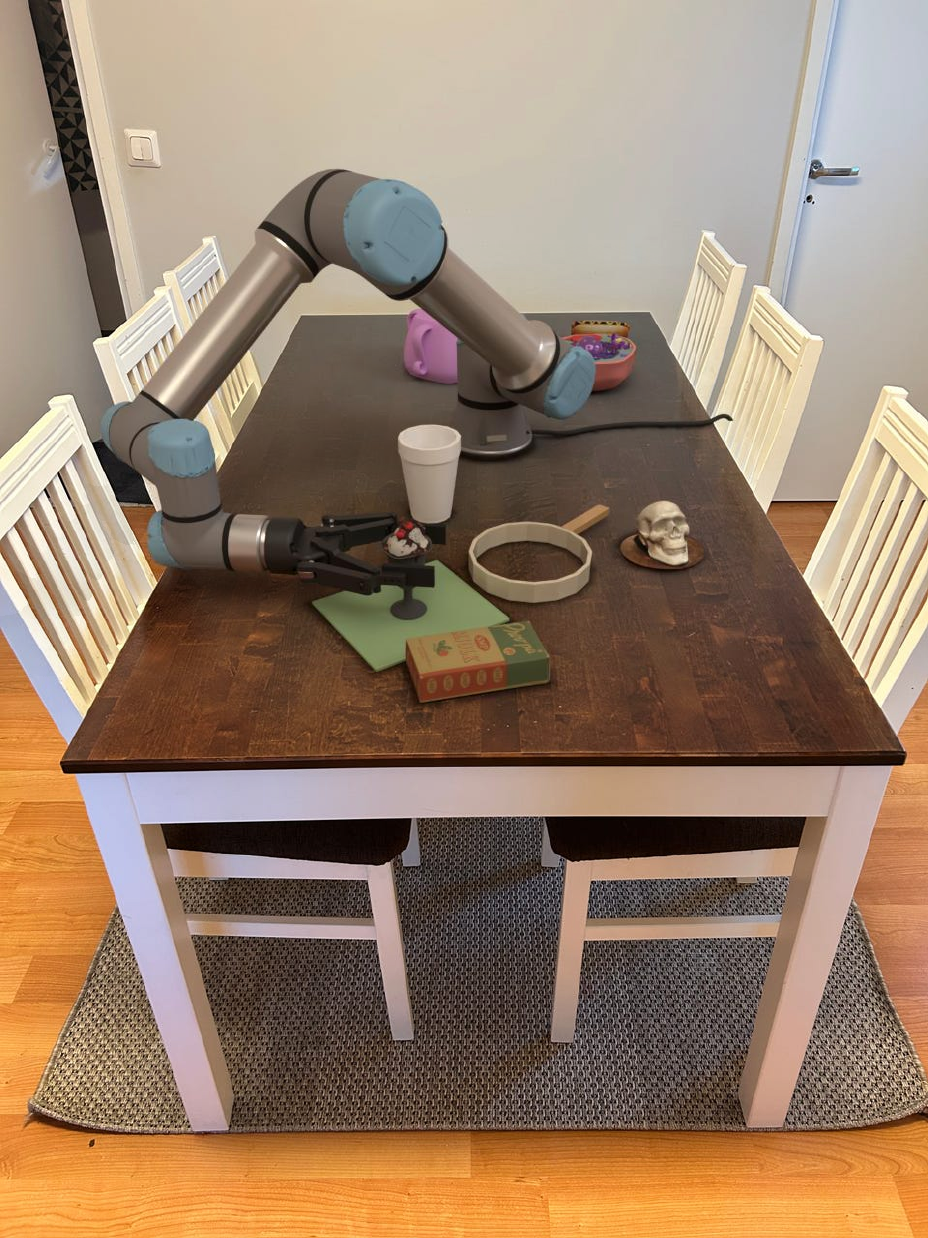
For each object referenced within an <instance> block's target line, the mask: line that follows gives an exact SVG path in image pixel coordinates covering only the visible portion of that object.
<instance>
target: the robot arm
mask: <svg viewBox="0 0 928 1238" xmlns="http://www.w3.org/2000/svg"><path fill="white" fill-rule="evenodd" d="M442 223H443V219H442V216H441V213H440V211H439V209H438V207H437V206H436V204H435V203H434V202H433V200H432V199H431V198H430V197H429V196H428V195H427V194H426V193H424V192H423V191H422V190H420V189H418V188H417V187H414V186H413V185H411V184H409V183H407V182H404V181H402V180H398V179H391V178H379V177H374V176H372V175H371V176H370V175H366V174H362V173H358V172H355V171H352V170H349V169H348V170H347V169H343V168H329V169H323V170H320V171H317V172H316V173H313V174H312V175H309V176H308V177H306V178H305V179H303V180H302V181H300V182H299V183H298V184H297V185H295V186H294V187H293V188H292V189H291V190H290V191H288V192H287V193H286V194H285V195H284V196H283V197H282V198H281V199H280V201H279V202H278V203H277V204H276V205H275V206H274V207H273V208H272V209H271V211H270V212H269V213H268V214H267V215H266V217H265V218H264V219H263V220H262V222H261V223H260V224H259V226H257V228H256V229H255V231H254V241H255V244H254V245H253V247H252V248H251V249H250V250H249V252H248V253H247V254H246V256H245V257H244V258H243V260H242V261H241V262H240V263H239V264H238V265H237V267H236V269H235V270H234V271H233V272H232V274H231V275H230V276H229V277H228V279H227V280H226V281H225V282H224V284H223V285H222V286H221V288H219V291H218V292H217V293H216V294H215V296H213V298H212V299H211V300H210V301H209V303H208V304H207V306H206V307H205V308H204V309H203V310H202V312H201V313H200V315H199V316H198V317H197V319H196V320H195V321H193V324H192V325H191V326H190V328H189V329H188V330H187V331H186V332H185V334H184V335H183V336H182V337H181V339H180V341H179V342H178V343H177V344H176V345H175V346H174V347H173V349H172V350H171V352H170V353H169V355H168V356H167V357H166V359H164V361H163V362H162V363H161V365H160V366H159V367H158V369H157V370H156V371H155V373H154V374H152V376H151V377H150V378H149V380H148V382H147V383H145V385H144V386H143V388H142V389H141V390H140V391H139V393H138V394H137V395H136V397H135V398H134V399H133V400H132V401H125V400H124V401H121V402H118V403H116V404H115V405H112V406H111V407H109V408H108V409H107V410H106V412H105V413H104V415H103V416H102V419H101V422H100V435H101V439H102V441H103V442H104V444H105V446H106V447H107V449H109V450H110V451H111V452H112V453H113V454H114V455H115V456H116V458H117V459H118V460H119V461H121V462H122V463H124V464H127V465H128V466H129V467H131V468H132V469H134V470H135V471H136V472H137V473H139V474H140V476H142V477H143V478H145V479H146V480H147V481H148V482H150V483H151V484H152V485H154V486H155V488H156V491H157V495H158V500H159V504H160V510H157V511H155V512H154V513H153V514H152V515H151V517H150V520H149V521H148V525H147V531H146V534H147V542H146V545H147V550H148V553H149V555H150V557H151V559H152V560H153V561H154V562H155V563H156V564H158V565H160V566H163V567H170V568H178V569H182V570H186V571H190V570H209V571H210V570H212V571H229V572H242V573H243V572H245V573H252V574H255V573H259V574H266V573H268V572H269V573H271V574H272V575H281V576H282V575H285V576H297V575H298V582H299V583H300V584H303V585H305V584H309V585H311V584H312V585H314V584H315V585H316V584H317V585H319V586H323V587H327V588H333V589H337V590H340V591H349V592H353V593H357V594H362V595H366V596H369V595H372V594H373V593H379V592H381V585H389V586H393V585H394V586H414V587H430V588H434V587H435V566H427V565H411V564H394V563H388V562H382V563H381V565H380V567H379V566H377V565H375V564H373V563H370V562H367V561H365V560H363V559H360V558H357V557H355V556H352V555H351V554H347V553H346V552H349V551H351V549H352V548H354V547H359V546H364V545H368V544H374V543H378V542H382V541H383V539H384V538H386V537H387V536H388V535H390V534H392V533H394V532H395V530H396V529H397V528H398V526H399V525H400V522H401V521H399V520H398V514H397V513H395V511H382V512H380V511H379V512H369V513H368V512H367V513H356V514H342V515H341V514H340V515H337V514H323V515H321V522H322V523H321V524H320V525H316V526H307V525H305V523H304V521H303V520H302V519H301V518H300V517H297V516H280V515H274V516H273V517H272V518H271V517H270V516H269V515H266V514H243V513H242V514H241V513H230V512H224V510H223V502H222V498H221V492H220V486H219V478H218V471H217V464H216V452H215V449H214V446H213V443H212V439H211V434H210V431H209V429H208V428H207V426H206V425H205V424H204V423H202V422H200V421H197V420H196V418H197V417H198V416H199V414H200V413H201V412H202V410H203V409H204V408H205V406H206V405H207V404H208V403H209V402H210V400H211V399H212V397H214V395H215V394H216V393H217V391H218V390H219V389H220V387H221V386H222V385H223V384H224V383H225V382H226V380H227V378H228V377H229V376H230V375H231V374H232V372H233V371H234V370H235V368H236V367H237V366H238V364H239V363H240V362H241V361H242V359H243V358H244V357H245V355H246V354H247V353H248V351H249V350H250V349H251V348H252V347H253V345H254V344H255V343H256V341H257V340H258V339H259V338H260V336H261V335H262V333H263V332H264V331H265V330H266V328H267V327H268V326H269V325H270V323H271V322H272V321H273V320H274V318H275V317H276V316H277V315H278V314H279V312H280V311H281V310H282V308H283V306H285V304H286V303H287V302H288V300H289V299H290V298H291V296H292V295H293V294H294V293H295V292H296V290H297V289H298V288H299V287H300V285H301V284H311V283H312V282H313V281H314V280H315V278H316V277H317V276H318V275H319V273H320V272H321V271H322V270H324V269H325V268H326V267H328V266H331V265H335V266H338V267H341V268H344V269H346V270H349V271H352V272H354V273H356V274H357V275H359V276H361V277H362V278H363V279H364V280H366V281H367V282H368V283H369V284H371V285H372V286H374V288H376V289H377V290H379V291H380V292H381V293H382V294H384V295H385V296H386V297H387V298H389V299H391V300H393V301H397V302H403V301H408V300H410V302H412V303H413V304H415V305H416V306H417V307H418V308H419V309H422V310H423V311H425V312H426V313H427V314H428V315H430V316H431V317H432V318H433V319H435V320H436V321H437V322H438V323H440V324H441V325H442V326H443V327H444V328H446V329H447V330H448V331H449V332H451V333H452V334H453V335H454V336H456V337H457V341H456V345H457V383H456V385H457V387H456V388H457V389H456V390H457V401H456V402H457V403H456V406H455V409H454V412H453V416H452V419H451V423H450V426H449V427H450V428H452V429H454V430H457V432H458V433H459V434H460V435H461V452H460V455H459V456H462V457H465V458H469V459H473V460H479V461H502V460H510V459H513V458H516V457H519V456H521V455H523V454H526V453H527V452H528V451H529V450H530V449H531V448H532V444H533V442H532V441H533V435H536V436H537V435H540V436H541V435H542V436H555V437H563V436H574V435H578V434H584V433H588V432H592V431H600V430H608V429H609V430H610V429H616V428H629V427H633V428H634V427H699V426H706V425H711V424H713V423H714V424H715V423H716V422H718V421H720V420H722V419H725V420H727V421H728V422H733V421H734V419H733V417H732V416H731V415H729V414H727V413H719V414H717V415H716V416H713V417H712V418H709V419H705V420H703V419H702V420H687V421H686V420H685V421H683V420H682V421H680V420H679V421H625V422H623V421H622V422H613V423H605V424H596V425H590V426H584V427H581V428H575V429H569V430H552V429H551V430H550V429H531V425H530V422H529V418H528V415H527V411H526V408H527V409H529V410H532V411H534V412H537V413H539V414H542V415H544V416H545V417H546V418H548V419H550V418H551V419H555V420H561V421H563V420H567V419H569V418H571V417H572V416H574V415H576V414H577V413H578V412H579V411H580V410H581V409H582V408H583V407H584V405H585V404H586V402H587V401H588V399H589V397H590V395H591V393H592V392H593V391H592V388H593V385H594V380H595V373H596V367H595V361H594V358H593V356H592V355H591V354H590V353H589V352H588V351H587V350H584V349H583V348H582V347H580V346H576V347H575V346H573V345H571V344H569V343H567V342H566V341H564V340H563V339H562V338H563V337H561V336H560V335H559V334H558V333H557V332H556V331H554V329H553V328H552V327H550V326H549V325H548V324H547V323H546V322H543V321H541V320H537V319H536V320H535V319H533V320H529V319H527V318H526V315H525V314H524V313H521V312H519V310H517V309H516V308H515V307H514V306H513V305H511V304H510V303H509V302H508V301H507V300H506V299H505V298H504V297H503V296H502V295H501V294H500V293H499V292H497V291H496V290H495V289H494V288H493V287H492V286H491V285H490V284H489V283H488V282H486V280H484V278H483V277H481V276H480V275H479V274H478V273H477V272H476V271H475V270H473V268H472V267H470V265H468V264H467V263H466V262H465V261H464V260H463V259H462V258H461V257H459V256H458V254H456V253H455V252H454V251H453V250H452V249H451V248H450V247H449V244H450V243H449V236H448V232H447V230H446V228H445V227H444V226H443V225H442ZM405 522H406V521H405ZM405 522H404V521H402V522H401V524H403V523H405ZM419 523H420V524H421V525H422V526H423V527H425V533H424V535H426V536H428V537H429V538H430V539H431V541H432V545H441V546H446V544H447V524H446V523H423V522H419Z"/></svg>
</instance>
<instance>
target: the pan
mask: <svg viewBox="0 0 928 1238" xmlns="http://www.w3.org/2000/svg"><path fill="white" fill-rule="evenodd" d="M609 515H610V507H609V506H606V505H603V504H601V503H598V504H597V505H595V506H593V507H592V508H590V509H588V510H586V511H585V512H583V513H582V514H580V515H578V516H577V517H575V518H574V519H572V520H570V521H569V522H567V523H565V524H564V525H562V526H559V525H556V524H552V523H547V522H536V521H516V522H508V523H507V522H506V523H502V524H499V525H497V526H493V527H491V528H487V529H485V530H484V531H482V532H480V534H478V535H477V536H475V537H474V538H473V539H472V542H471V544H470V547H469V549H468V571H469V574H470V577H471V579H472V581H473V583H474V584H476V585H477V586H478V587H479V588H481V589H482V590H483V591H484V592H486V593H488V594H490V595H493V596H496V597H498V598H501V599H504V600H506V601H512V602H521V603H529V604H536V603H537V604H538V603H544V602H552V601H553V602H554V601H558V600H562V599H565V598H567V597H569V596H572V595H575V594H577V593H578V592H579V591H581V589H583V587H585V586H586V585H587V584H588V583H589V580H590V576H591V570H592V559H593V550H592V548H591V546H590V545H589V544H588V542H587V540H586V539H585V538H584V537H582V536H580V535H579V534H581V533H582V532H584V531H585V530H587V529H588V528H590V527H592V526H594V525H595V524H597V523H598V522H600V521H601V520H603V519H604V518H607V517H608V516H609ZM526 541H527V542H536V543H547V544H551V545H553V546H556V547H560V548H563V549H566V550H567V551H569V552H571V554H573V555H575V556H576V557H578V558H579V559H580V560H581V563H582V564H583V565H582V566H581V567H580V568H579V569H578V570H576V571H575V572H574V573H571V574H569V575H566V576H563V577H560V578H557V579H550V580H542V581H527V580H517V579H509V578H507V577H504V576H502V575H498V574H495V573H492V572H490V571H489V570H488V569H486V568H485V567H484V566H482V565H481V564H480V563H479V562H478V561H477V559H478V558H479V557H480V556H481V555H482V554H483V553H485V552H486V551H487V550H489V549H491V548H495V547H499V546H500V545H504V544H507V543H518V542H526Z"/></svg>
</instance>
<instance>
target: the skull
mask: <svg viewBox="0 0 928 1238" xmlns="http://www.w3.org/2000/svg"><path fill="white" fill-rule="evenodd" d="M635 525H636V529H637V534H636V533H635V534H633V535H631V536H628V537H626V538H625V539H624V540H623V541H622V542H621V544H620V546H619V547H620V548H619V549H620V552H621V554H622V555H623V556H624V557H625V558H627V560H629V561H631V562H633V563H635V564H638V565H639V566H642V567H647V568H650V569H652V568H653V569H662V570H663V569H664V570H676V569H677V570H679V569H684V568H685V569H686V568H689V567H691V566H694V565H696V564H697V563H699V562H700V561H701V560H702V559H703V558H704V554H705V551H704V547H702V545H701V544H700V543H699V542H698V541H696V540H694V539H692V538H691V537H687V536H689V534H690V526H689V524H688V523H687V522H686V516H685V514H684V513H683V512H682V510H681V509H680V507H679V505H678V504H676V503H674V502H672V501H669V500H659V501H655V502H652V503H650V504H649V505H646V507H644V508H643V509H642V510H641V511H640V513H639V514H638V516H637V517H636V524H635Z"/></svg>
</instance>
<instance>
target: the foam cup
mask: <svg viewBox="0 0 928 1238" xmlns="http://www.w3.org/2000/svg"><path fill="white" fill-rule="evenodd" d="M397 451H398V454H399V457H400V461H401V462H400V463H401V466H402V473H403V479H404V485H405V489H406V490H405V491H406V494H407V500H408V506H409V511H410V515H411V517H412V519H414V520H416V521H417V522H418V523H432V524H440V523H442V522H445V521H447V520H448V519H449V518H451V514H452V510H453V502H454V497H455V496H454V495H455V490H456V489H455V488H456V480H457V473H458V465H459V457H460V456H461V455H460V452H461V435H460V434H459V433H458V432H457V430H454V429H452V428H450V426H446V425H440V424H420V425H414V426H411V427H408V428H406V429H404V430H403V431H401V432H399V435H398V437H397Z"/></svg>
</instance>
